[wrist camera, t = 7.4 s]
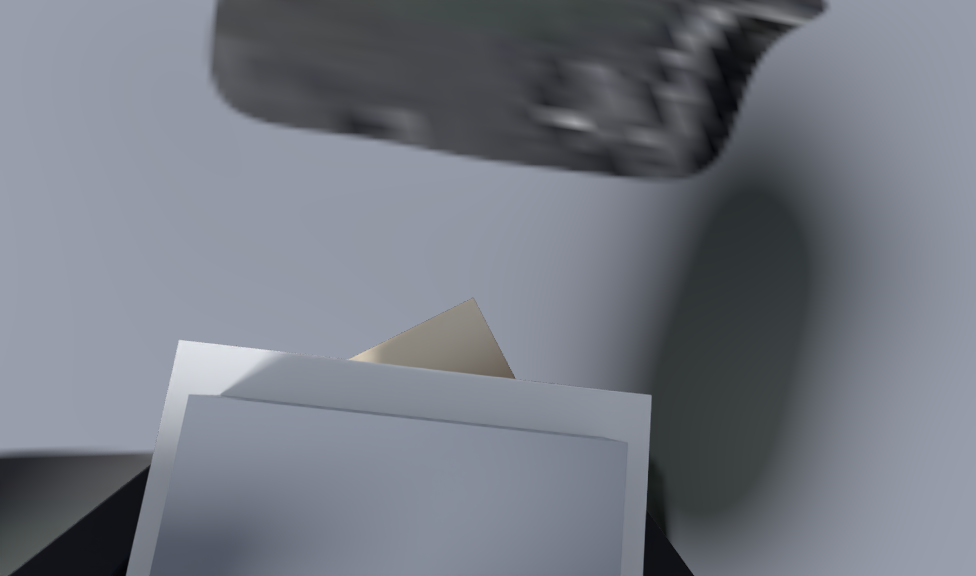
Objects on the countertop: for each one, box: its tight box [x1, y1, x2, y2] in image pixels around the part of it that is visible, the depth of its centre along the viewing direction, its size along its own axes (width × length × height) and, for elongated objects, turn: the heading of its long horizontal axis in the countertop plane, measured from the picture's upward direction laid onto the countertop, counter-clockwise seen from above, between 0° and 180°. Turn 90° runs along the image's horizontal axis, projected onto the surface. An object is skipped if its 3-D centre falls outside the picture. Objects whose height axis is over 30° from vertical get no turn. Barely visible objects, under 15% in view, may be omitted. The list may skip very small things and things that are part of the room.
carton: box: [126, 340, 652, 576], centre depth 10 cm, size 6×6×10 cm
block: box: [348, 298, 515, 379], centre depth 18 cm, size 8×8×3 cm
